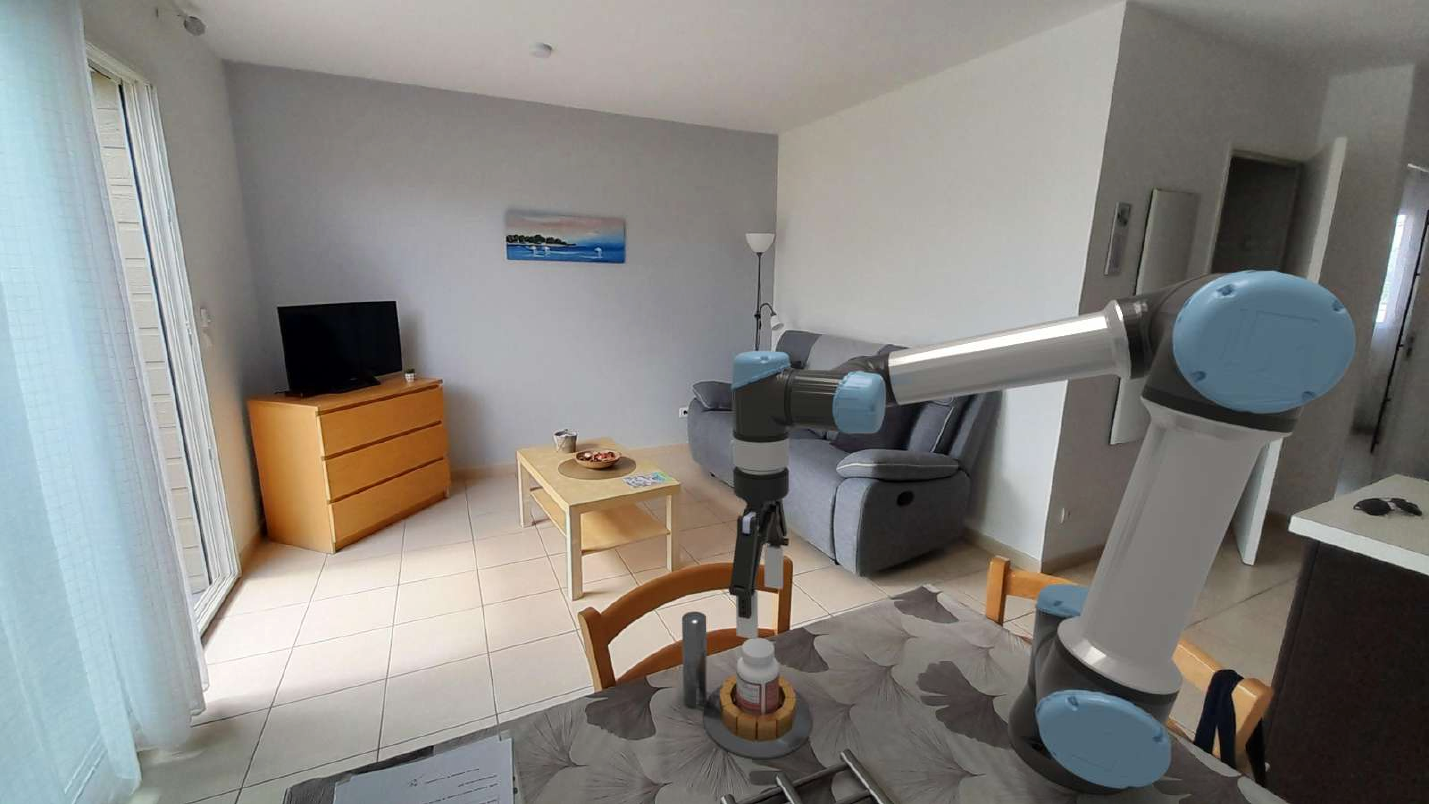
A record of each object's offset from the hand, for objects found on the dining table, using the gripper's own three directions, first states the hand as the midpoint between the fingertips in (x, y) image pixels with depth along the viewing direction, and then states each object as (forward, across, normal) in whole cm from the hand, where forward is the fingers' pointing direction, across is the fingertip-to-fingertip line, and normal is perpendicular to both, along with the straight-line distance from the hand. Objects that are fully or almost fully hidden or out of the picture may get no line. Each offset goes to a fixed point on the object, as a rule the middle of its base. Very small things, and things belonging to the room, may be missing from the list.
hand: (761, 610), depth 84 cm
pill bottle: (+17, 0, -1) cm, 17 cm away
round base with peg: (+17, 0, -3) cm, 18 cm away
